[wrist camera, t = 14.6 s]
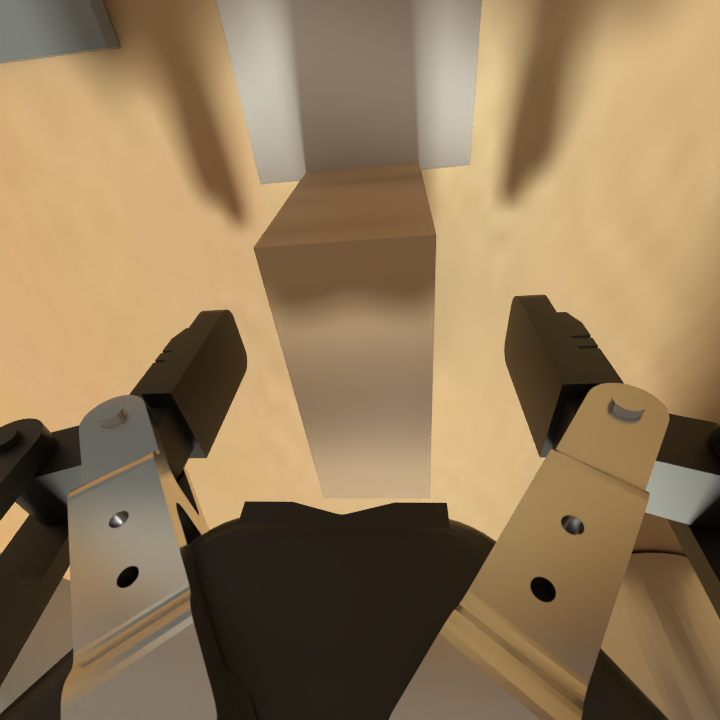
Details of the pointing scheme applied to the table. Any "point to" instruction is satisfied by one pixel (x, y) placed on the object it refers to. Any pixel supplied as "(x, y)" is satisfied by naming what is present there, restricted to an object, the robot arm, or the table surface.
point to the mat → (53, 28)
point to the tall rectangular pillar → (356, 213)
